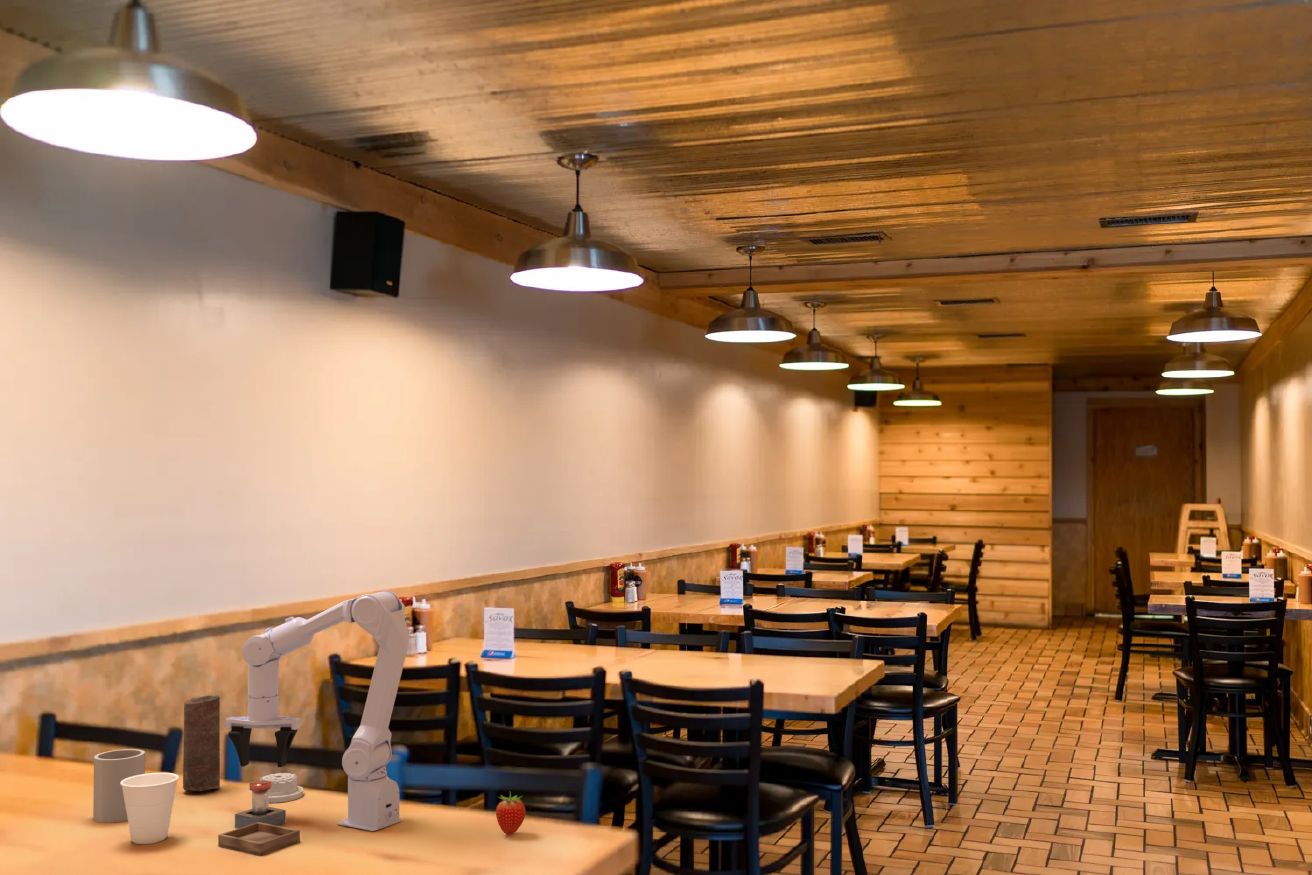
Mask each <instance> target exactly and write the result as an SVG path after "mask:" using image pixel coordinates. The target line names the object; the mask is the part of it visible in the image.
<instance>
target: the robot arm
mask: <svg viewBox="0 0 1312 875" xmlns="http://www.w3.org/2000/svg"><path fill="white" fill-rule="evenodd" d="M405 609H406V606H405V605H404V603H403V602H402V600H401V599H400V598H399V596H398V595H397V594H396V593H395V592H393V591H391V590H386V589H385V590H380V591H378V592H374V593H369V594H367V593H366V594H363V595H359V596H358V597H355V598H354V597H353V598H351V599H347V600H344V601H341V602H339V603H338V604H335V605H333V606H331V607H329V608H328V609H326V610H324V611H322V612H319V613H318V614H315V615H314V616H312V617H310V618H308V619H306V618H303V617H300V616H298V617H295V616H289V617H287V618H285V620H284V621H285V622H284V623H282V624H280V625H278V626H275V627H271V626H270V627H268V628H266V629H264V633H262V634H257V635H256V634H255V635H254V634H253V635H252V636H250V637H249V638H248V639H246V640H245V641H244V643H243V645H242V648H241V652H242V654H241V655H242V658H243V659H244V661H245V662H246V663H247V716H230V717H227V718H226V719H225V729H228V730H230V731H228V733H227V734H228V738H229V739H230V741H231V742H232V744H233V746H234V748H235V750H236V753H237V756H238V759H239V760H238V761H239V764H240V767H242V768H243V767H245V766H248V765H249V764H250V741H251V735H252V729H274V730H275V729H277V731H275V732H274V737H275V743H276V750H277V753H276V754H277V756H276V758H277V760H276V761H277V762H276V763H277V768H283V767H285V766H286V765H287V760H288V759H287V758H288V755H289V752H290V749H291V746H292V743H293V740H294V738H295V737H296V735H297V733H298V730H299V729H300V728H301V717H293V716H281V715H279V667H280V661H281V658H282V657H284V656H286V655H288V654H290V653H293V652H294V651H297V650H299V649H301V648H304V647H305V646H308V645H310V644H311V643H312V641H313V638H314V635H315V634H318V633H320V632H322V631H324V630H327V629H329V628H331V627H334V626H337V625H338V624H342V623H343V622H345V623H346V622H347V623H348V624H354V623H356V625H358V626H359V627H360V628H362V629H363V630H364V631H365V632H366V633H368V634H369V635H370V636H372V637H373V638H374V641H376V643H377V644H378V647H379V648H378V651H377V656H376V660H375V664H374V667H373V668H374V669H373V672H372V674H371V675H372V676H371V680H370V684H369V688H368V693H367V697H366V701H365V705H364V709H363V713H362V716H361V721H360V725H359V727H358V728H357V730H356V731H355V733H354V735H353V737H352V738H351V741H350V745H349V747H348V748H347V749H346V750H345V751H344V753H343V754H342V760H341V765H342V768H343V771H344V773H346V775H347V818H345V819H342V820H340V821H338V822H337V824H338V825H340V826H343V827H344V826H345V827H349V828H356V829H360V830H365V831H371V832H375V831H379V830H381V829H384V828H386V827H389V826H391V825H394V824H397V823H400V822H402V821H403V817H400V787H399V784H398V782H396V780H393V779H391V778H389V777H388V775H387V774H388V773H387V772H388V771H387V765H388V764H389V763H390V761H391V759H392V754H393V750H392V749H393V748H392V745H391V744H392V743H391V740H392V735H393V734H392V732H391V731H390V728H389V726H390V722H391V717H392V714H393V710H394V705H395V703H396V702H395V701H396V698H397V693H398V689H399V685H400V681H401V677H402V673H403V668H404V664H405V660H406V656H407V653H408V649H409V648H408V647H409V645H410V634H409V630H408V625H407V622H406V618H405ZM278 729H279V730H278Z"/></svg>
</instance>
